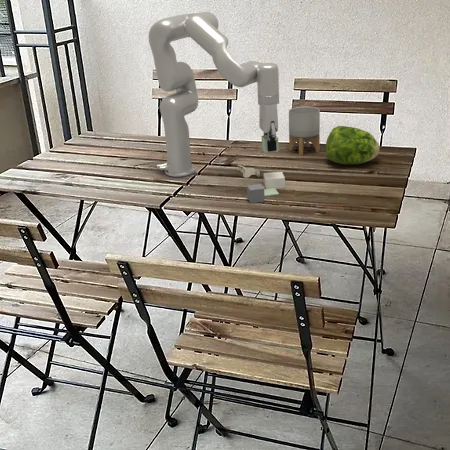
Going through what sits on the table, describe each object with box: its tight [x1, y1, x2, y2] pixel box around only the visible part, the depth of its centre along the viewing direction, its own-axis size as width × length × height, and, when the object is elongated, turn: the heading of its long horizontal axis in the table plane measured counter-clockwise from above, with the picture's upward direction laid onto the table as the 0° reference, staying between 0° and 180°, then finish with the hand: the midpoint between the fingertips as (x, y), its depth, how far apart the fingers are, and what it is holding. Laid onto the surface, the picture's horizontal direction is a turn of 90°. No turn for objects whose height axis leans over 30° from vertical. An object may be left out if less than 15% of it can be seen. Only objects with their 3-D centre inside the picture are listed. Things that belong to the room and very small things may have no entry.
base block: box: [263, 171, 286, 189], centre depth 236 cm, size 7×7×4 cm
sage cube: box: [261, 134, 280, 154], centre depth 229 cm, size 5×5×5 cm
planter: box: [288, 106, 321, 156], centre depth 267 cm, size 13×13×18 cm
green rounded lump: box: [325, 125, 381, 166], centre depth 251 cm, size 16×21×15 cm
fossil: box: [236, 164, 261, 179], centre depth 249 cm, size 7×11×3 cm, turn 18°
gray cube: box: [246, 183, 266, 204], centre depth 223 cm, size 5×5×5 cm
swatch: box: [264, 188, 280, 198], centre depth 229 cm, size 6×6×1 cm
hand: (270, 148), depth 229 cm, fingers closed on sage cube, 5 cm apart
